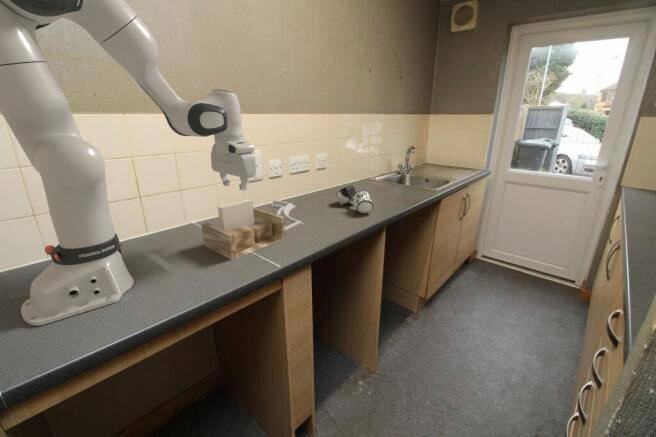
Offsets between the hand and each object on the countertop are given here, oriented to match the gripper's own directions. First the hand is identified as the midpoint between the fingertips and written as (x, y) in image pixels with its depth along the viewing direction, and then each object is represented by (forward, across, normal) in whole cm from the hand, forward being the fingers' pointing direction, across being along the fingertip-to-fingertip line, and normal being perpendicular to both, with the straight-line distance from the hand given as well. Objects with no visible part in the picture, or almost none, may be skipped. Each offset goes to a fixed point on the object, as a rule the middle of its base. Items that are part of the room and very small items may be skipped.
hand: (234, 187), depth 103 cm
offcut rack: (+20, +4, 0) cm, 20 cm away
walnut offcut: (+18, +6, +5) cm, 20 cm away
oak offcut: (+18, +6, -4) cm, 20 cm away
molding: (+21, -10, +28) cm, 36 cm away
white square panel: (+18, 0, 0) cm, 18 cm away
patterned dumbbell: (+21, +8, +58) cm, 62 cm away
